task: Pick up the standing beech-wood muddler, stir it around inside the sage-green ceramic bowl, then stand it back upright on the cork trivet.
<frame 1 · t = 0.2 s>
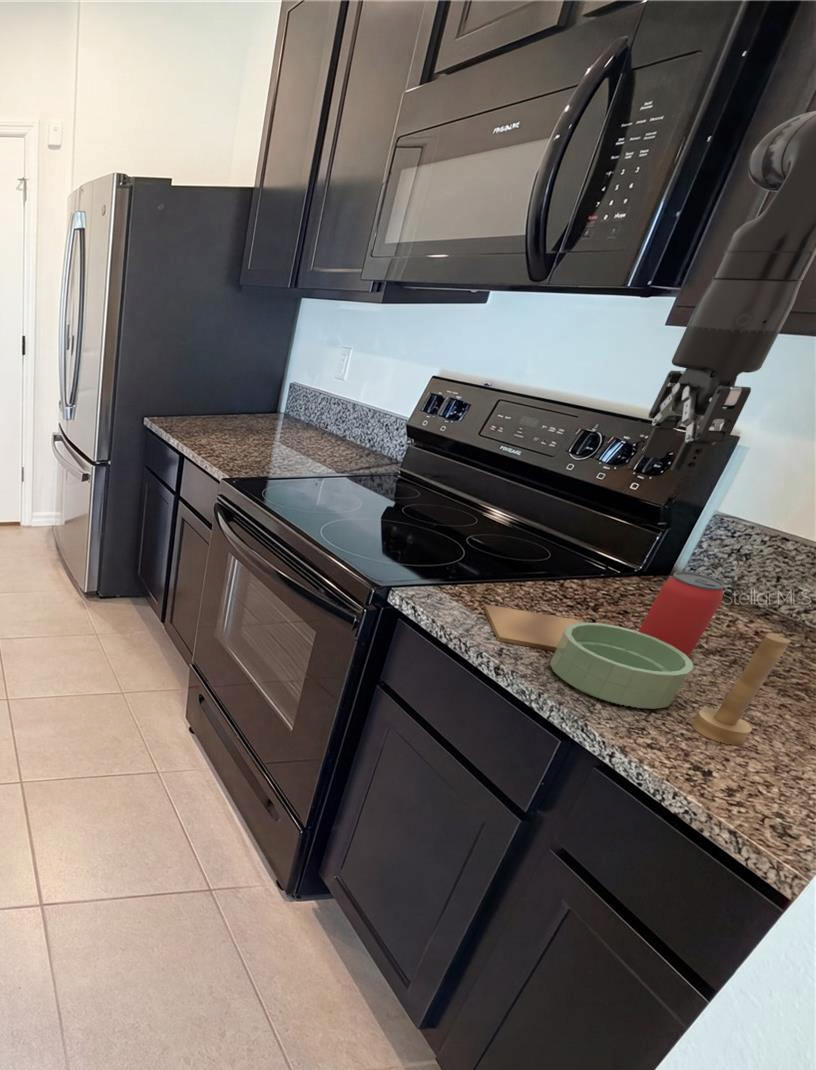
hand: (666, 465, 81), 31 cm above the counter, tool pointing down, fingers open, 8 cm apart
bowl: (607, 682, 92), on the counter
beer can: (659, 649, 101), on the counter
muddler: (716, 732, 83), on the counter
trivet: (540, 632, 105), on the counter
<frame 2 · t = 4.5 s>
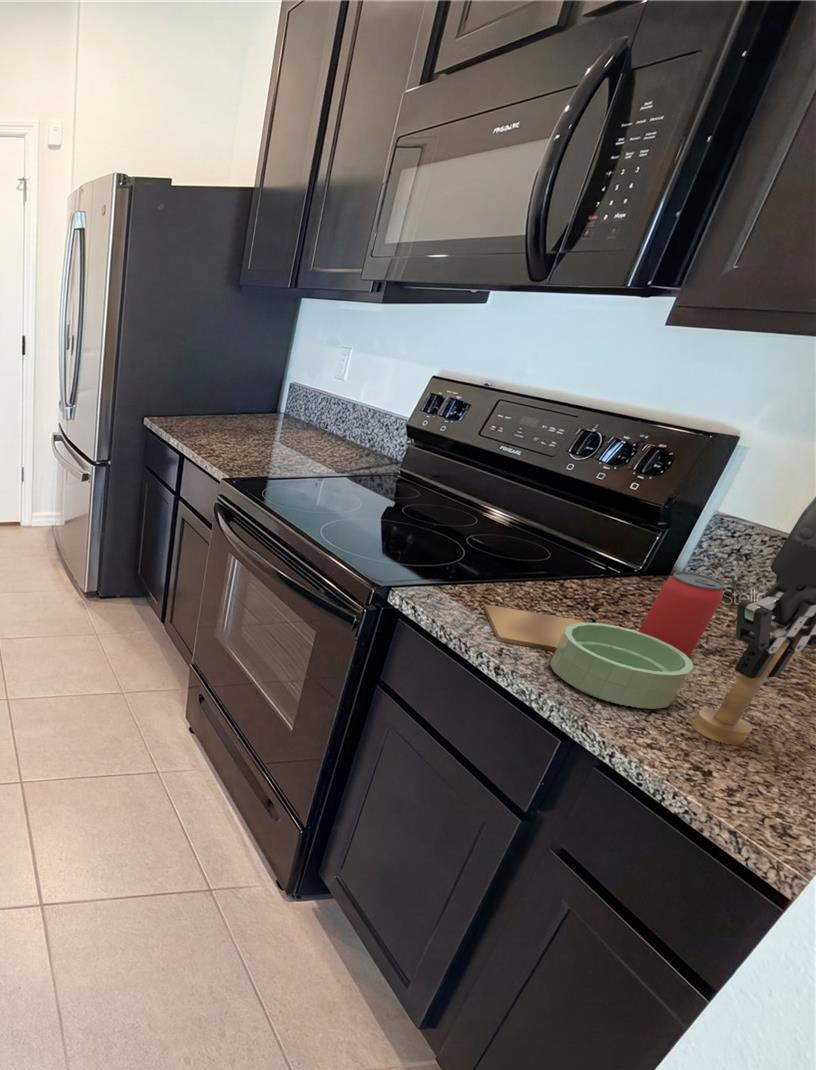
hand: (755, 673, 79), 9 cm above the counter, tool pointing down, fingers closed on muddler
muddler: (716, 732, 83), on the counter, touching gripper
everything else where it was.
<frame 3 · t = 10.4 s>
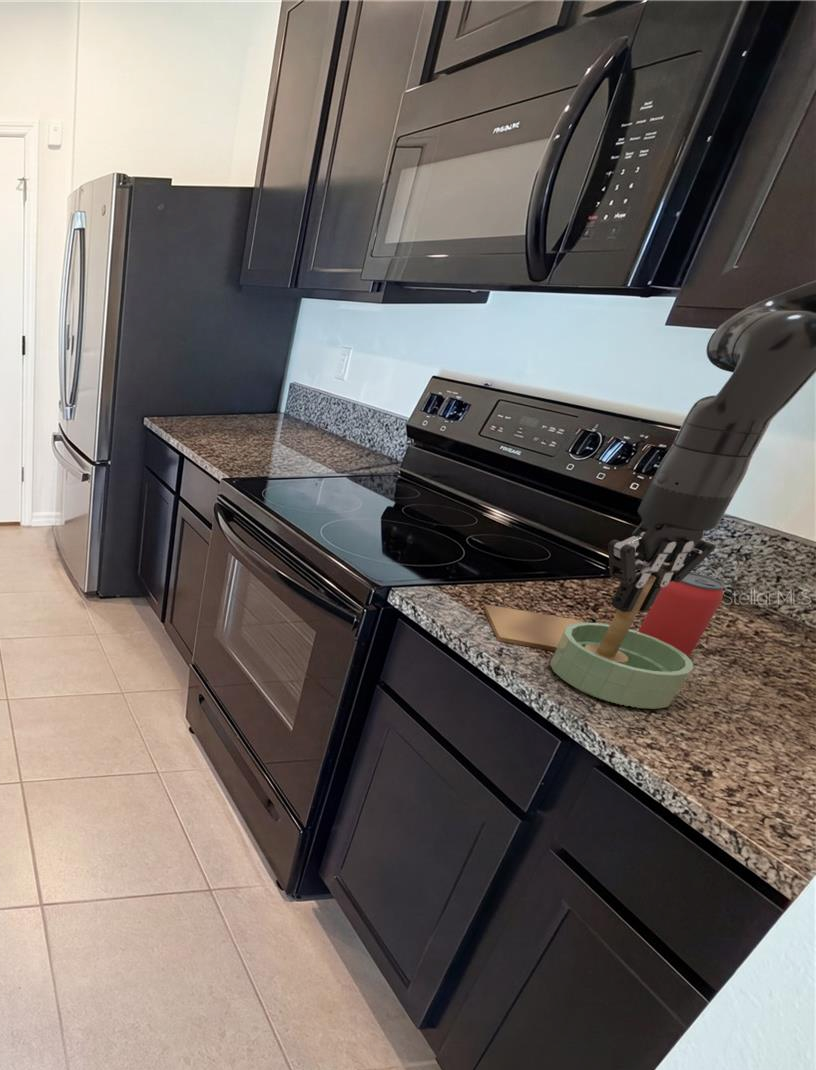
hand: (629, 608, 88), 11 cm above the counter, tool pointing down, fingers closed on muddler
muddler: (600, 664, 92), point 2 cm above the counter, touching gripper
everything else where it was.
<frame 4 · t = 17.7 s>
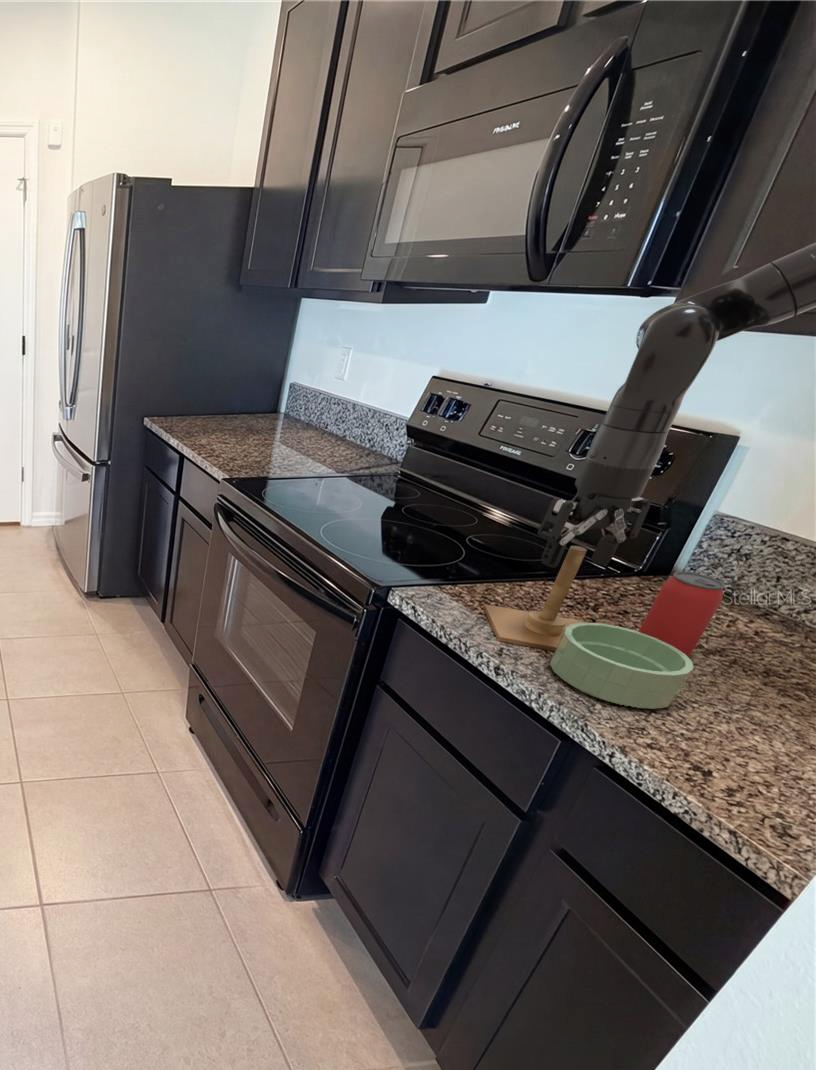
hand: (573, 564, 99), 12 cm above the counter, tool pointing down, fingers open, 8 cm apart
muddler: (542, 628, 104), point 1 cm above the counter, touching trivet
everything else where it was.
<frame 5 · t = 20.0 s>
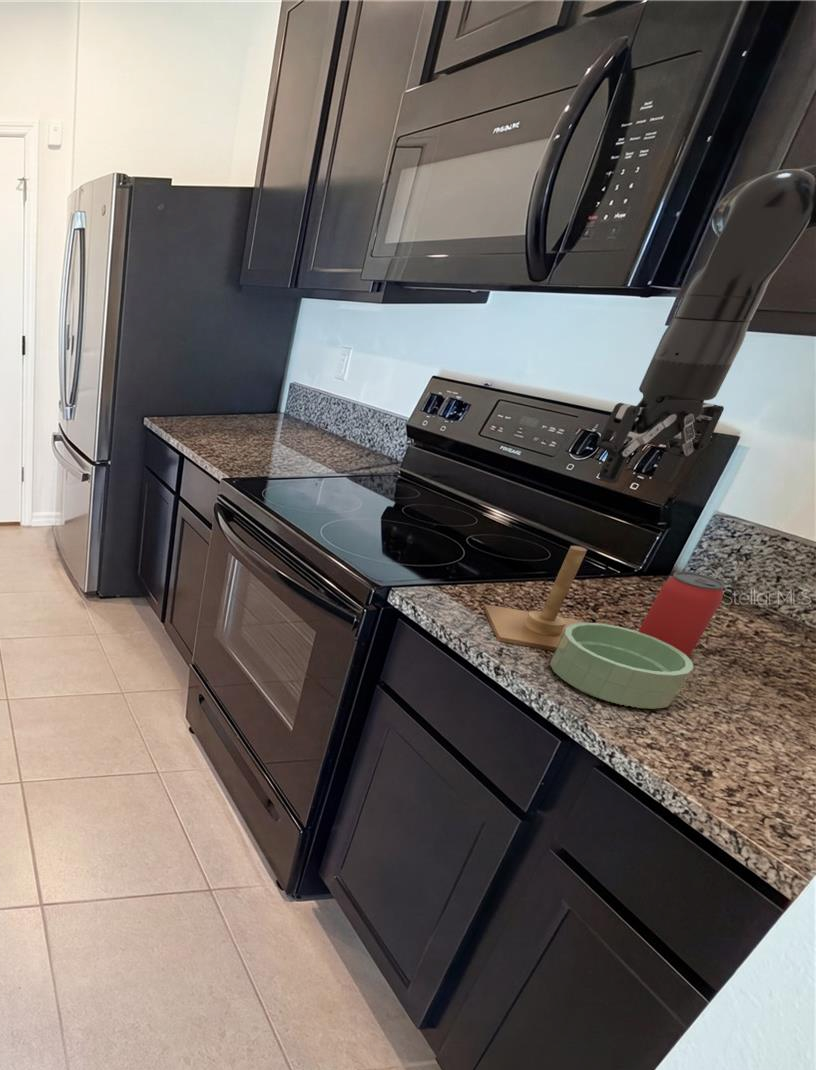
hand: (634, 480, 90), 26 cm above the counter, tool pointing down, fingers open, 8 cm apart
nothing on the counter moved.
at the end: muddler inside the target area on the trivet (0.0 cm from its centre), point 0.8 cm above the trivet's base; muddler tilted 0°; the gripper is holding nothing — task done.
